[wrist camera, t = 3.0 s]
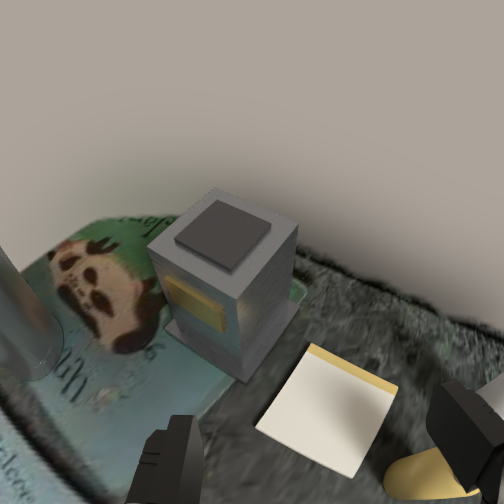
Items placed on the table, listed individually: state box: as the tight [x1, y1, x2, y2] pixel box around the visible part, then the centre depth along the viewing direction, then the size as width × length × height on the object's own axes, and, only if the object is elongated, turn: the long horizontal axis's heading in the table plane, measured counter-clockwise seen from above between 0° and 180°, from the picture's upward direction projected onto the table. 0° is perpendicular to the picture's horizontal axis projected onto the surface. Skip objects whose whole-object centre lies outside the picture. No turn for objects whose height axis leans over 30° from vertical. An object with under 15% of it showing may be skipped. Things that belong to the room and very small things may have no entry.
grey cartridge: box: [475, 373, 504, 420], centre depth 20 cm, size 4×4×12 cm
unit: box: [147, 188, 300, 386], centre depth 28 cm, size 10×10×13 cm
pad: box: [255, 343, 399, 478], centre depth 27 cm, size 10×10×1 cm
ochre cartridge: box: [383, 447, 480, 500], centre depth 17 cm, size 4×4×12 cm
